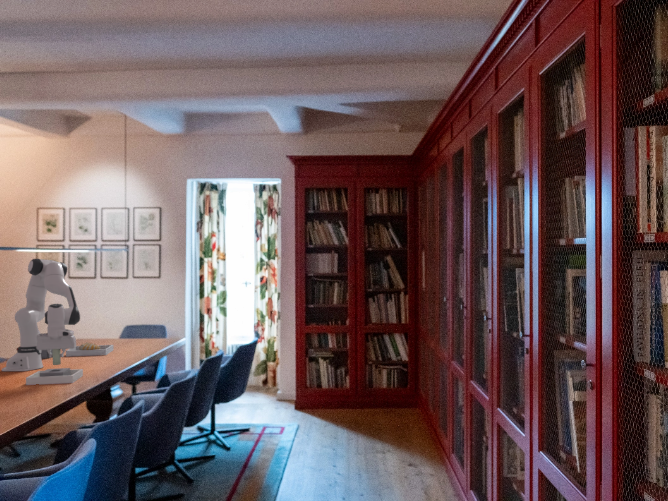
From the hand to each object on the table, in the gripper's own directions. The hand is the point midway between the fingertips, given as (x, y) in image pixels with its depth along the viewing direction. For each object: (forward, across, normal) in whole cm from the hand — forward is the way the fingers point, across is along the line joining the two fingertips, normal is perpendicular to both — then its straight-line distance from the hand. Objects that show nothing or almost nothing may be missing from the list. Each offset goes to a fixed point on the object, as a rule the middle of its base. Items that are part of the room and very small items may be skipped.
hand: (56, 357), depth 299 cm
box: (+13, -1, 0) cm, 13 cm away
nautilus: (+13, -6, +90) cm, 91 cm away
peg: (+4, 0, 0) cm, 4 cm away
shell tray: (+13, -6, +90) cm, 91 cm away
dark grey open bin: (+13, -33, +82) cm, 89 cm away
